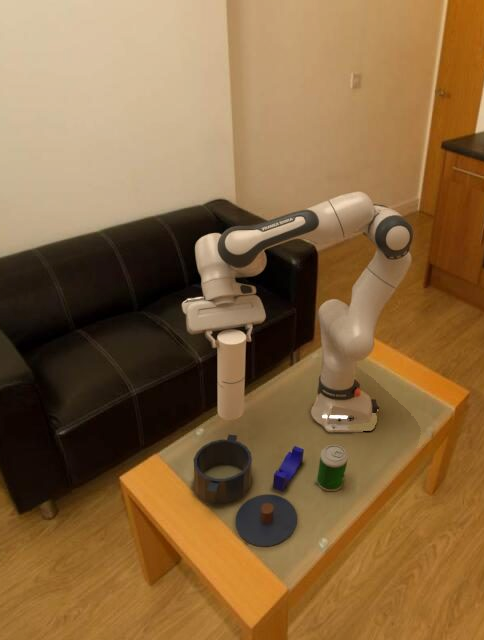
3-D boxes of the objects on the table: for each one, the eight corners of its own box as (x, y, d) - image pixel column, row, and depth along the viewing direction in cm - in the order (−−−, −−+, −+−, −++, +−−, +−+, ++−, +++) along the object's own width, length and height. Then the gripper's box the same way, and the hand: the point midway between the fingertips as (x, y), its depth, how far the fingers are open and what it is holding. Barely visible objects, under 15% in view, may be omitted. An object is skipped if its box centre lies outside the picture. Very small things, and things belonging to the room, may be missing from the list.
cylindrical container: (237, 422, 136) (239, 346, 124) (213, 415, 137) (212, 340, 125) (247, 406, 142) (250, 333, 130) (224, 400, 143) (225, 327, 131)
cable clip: (288, 458, 146) (289, 443, 143) (302, 464, 145) (303, 449, 142) (267, 487, 136) (269, 472, 133) (282, 493, 135) (283, 478, 132)
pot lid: (300, 500, 134) (302, 487, 131) (291, 551, 120) (293, 538, 118) (243, 493, 133) (244, 480, 131) (228, 544, 120) (228, 530, 117)
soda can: (339, 496, 137) (345, 465, 131) (313, 490, 138) (317, 459, 132) (345, 476, 144) (350, 446, 138) (320, 470, 144) (324, 440, 138)
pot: (257, 460, 144) (258, 436, 139) (240, 518, 126) (241, 492, 122) (207, 454, 143) (206, 429, 138) (182, 511, 126) (181, 485, 121)
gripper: (182, 295, 122) (193, 349, 120) (261, 286, 133) (272, 335, 131) (178, 302, 128) (189, 354, 125) (254, 293, 138) (265, 340, 136)
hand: (232, 344), depth 128 cm, fingers closed on cylindrical container, 7 cm apart
